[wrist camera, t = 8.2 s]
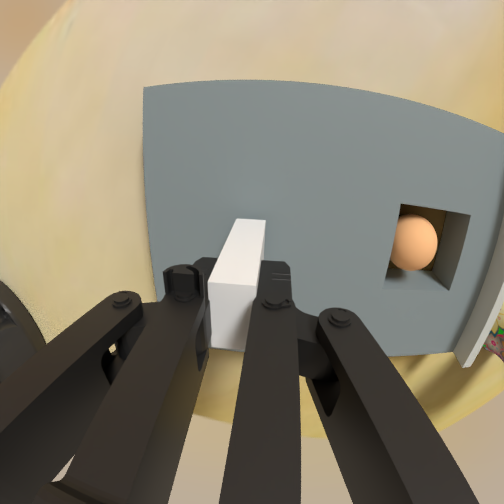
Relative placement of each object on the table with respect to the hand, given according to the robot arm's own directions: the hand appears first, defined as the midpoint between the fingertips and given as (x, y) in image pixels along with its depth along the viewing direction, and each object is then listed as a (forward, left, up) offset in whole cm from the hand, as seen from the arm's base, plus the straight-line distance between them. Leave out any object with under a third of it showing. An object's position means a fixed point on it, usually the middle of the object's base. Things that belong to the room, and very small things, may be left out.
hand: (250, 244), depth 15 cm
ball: (+9, 0, -4) cm, 10 cm away
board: (+6, 0, -4) cm, 7 cm away
